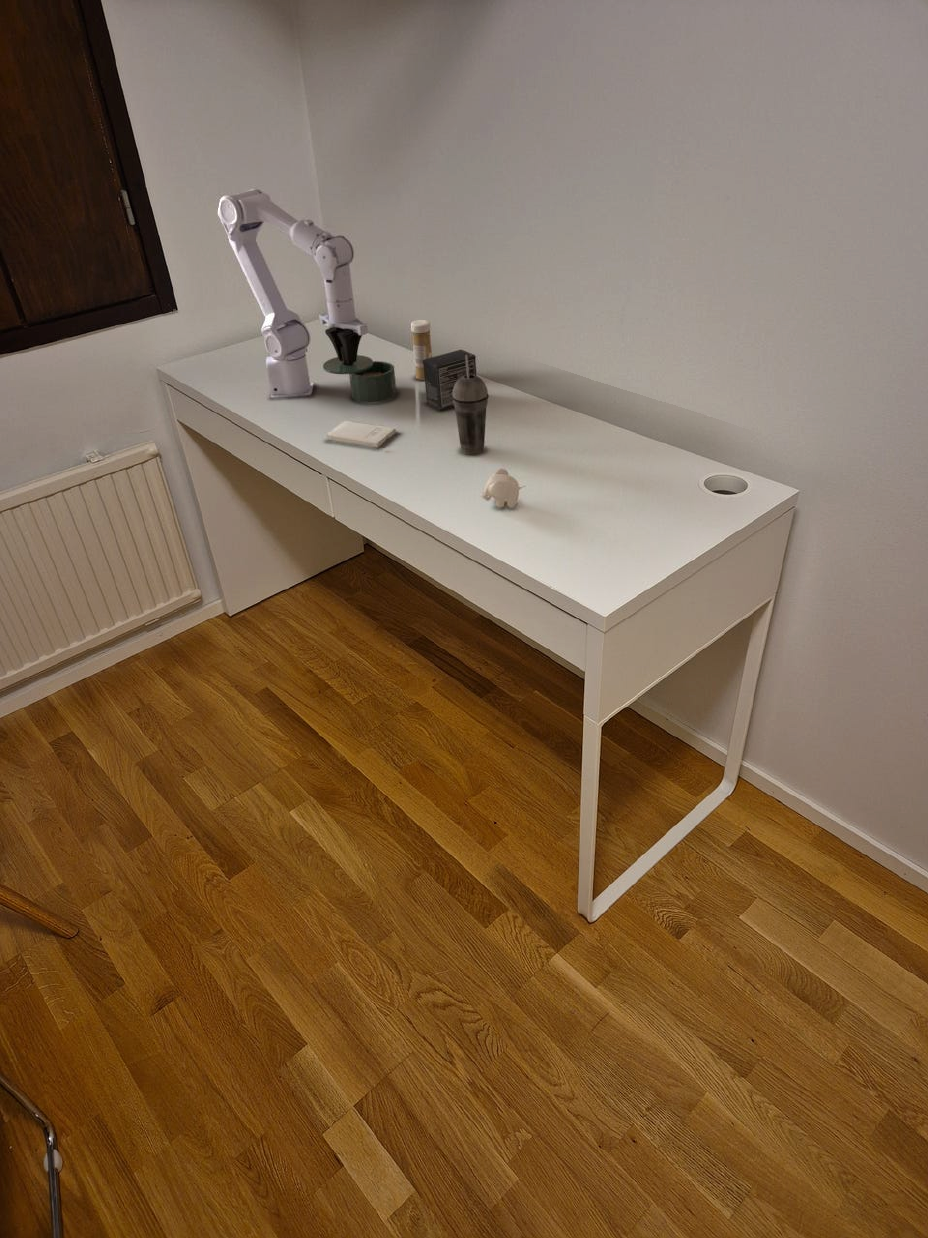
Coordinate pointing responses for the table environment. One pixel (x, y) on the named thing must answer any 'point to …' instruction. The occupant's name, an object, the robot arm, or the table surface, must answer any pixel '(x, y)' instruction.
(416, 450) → the table surface
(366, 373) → the block
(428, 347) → the sprinkles bottle
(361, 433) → the hard drive
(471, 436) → the beverage cup
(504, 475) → the elephant figurine
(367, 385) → the green faceted bucket
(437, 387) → the small box
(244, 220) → the robot arm
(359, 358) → the lid
